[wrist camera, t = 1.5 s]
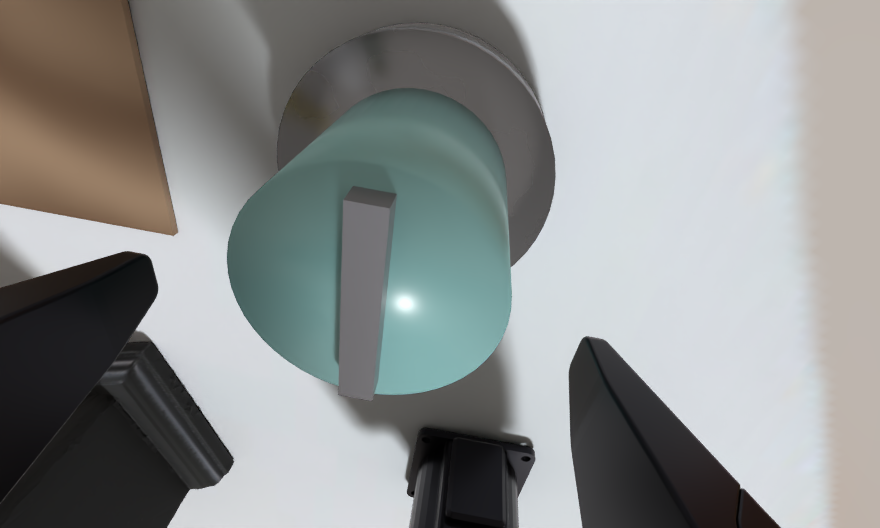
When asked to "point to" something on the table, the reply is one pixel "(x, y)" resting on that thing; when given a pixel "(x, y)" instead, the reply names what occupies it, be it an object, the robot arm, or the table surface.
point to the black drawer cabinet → (121, 454)
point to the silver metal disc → (451, 74)
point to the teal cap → (381, 248)
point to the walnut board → (78, 115)
